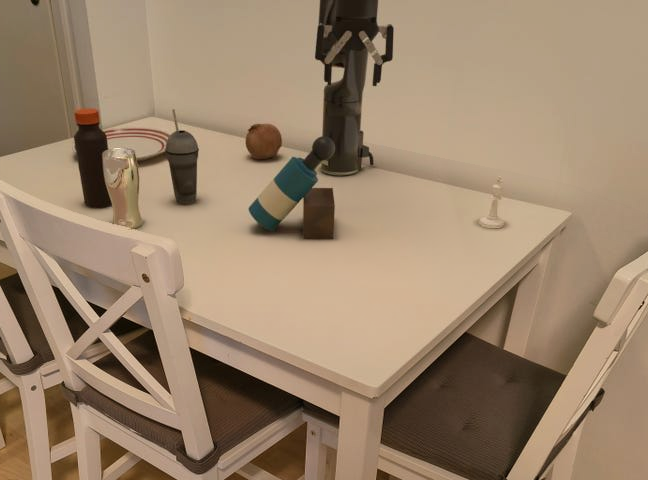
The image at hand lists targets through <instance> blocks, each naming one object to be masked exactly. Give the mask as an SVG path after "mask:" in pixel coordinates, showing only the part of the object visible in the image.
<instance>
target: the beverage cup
mask: <svg viewBox="0 0 648 480" xmlns="http://www.w3.org/2000/svg"><path fill="white" fill-rule="evenodd" d="M172 115H173V121H174V125H175V131H173V132H172V133H170V134H171V135H170V136H169V138H168V140H167V142H166V149H165V152H164V153H165V154H166V155H165V156H166V158H167V161H168V166H169V172H170V175H171V183H172V188H173V194H174V198H175V203H176V204H177V205H180V206H188V205H193V204H195V203H196V202H197V194H198V193H197V192H198V191H197V190H198V189H197V187H198V159H199V151H200V149H199V145H198V142H197V139H196V138H195V137H194V135H193V134H192V133H191V132H189V131H186V130H184V129H183V130H182V129H181V130H179V125H178V120H177V115H176V109H175V108H173V109H172Z"/></svg>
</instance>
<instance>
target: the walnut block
mask: <svg viewBox="0 0 648 480" xmlns="http://www.w3.org/2000/svg"><path fill="white" fill-rule="evenodd" d="M302 199H303V200H302V236H303V237H302V239H304V240H333V239H334V236H335V235H334V233H335V232H334V231H335V210H336V204H335V203H336V202H335V196H334V188H333V187H312V188H311V189H310V191H309V192H308V193H307V194H306V195H305V196H304V197H303V198H302Z"/></svg>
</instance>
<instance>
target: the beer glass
mask: <svg viewBox="0 0 648 480" xmlns="http://www.w3.org/2000/svg"><path fill="white" fill-rule="evenodd" d="M102 162H103V174H104V180H105V184H106V188H107V191H108V194H109V197H110V200H111V203H112V205H111V207H112V225H113V224H117V225H121V226H125V227H129V228H132V229H131V230H134V229H137V228H139V227H141V226H142V225H143V219H142V216H141V215H142V214H141V212H140V208H139V197H140V196H139V195H140V170H139V164H138V162H137V159H136V153H135V150H133V149H129V148H113V149H109V150H106V151H104V152H103V153H102Z"/></svg>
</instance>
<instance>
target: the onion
mask: <svg viewBox="0 0 648 480" xmlns="http://www.w3.org/2000/svg"><path fill="white" fill-rule="evenodd" d="M246 131H247V134H246V136H245V145H246V146H245V148H246V150H247V151H248V153H249V154H250V155H251V156H252V157H253V158H255V159H257V160H265V159H266V160H267V159H272V158H273V157H275V156H276V155H277V154H278V152H279V151H280V149H281V148H282V146H283V137H282V134H281V131H280V129H278V127H277V126H276V125H274V124H271V123H255V124H252V125H251V126H250V127H249V128H248V129H247V130H246Z"/></svg>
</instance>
